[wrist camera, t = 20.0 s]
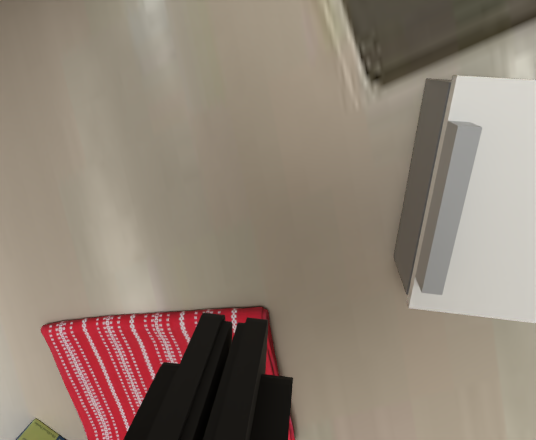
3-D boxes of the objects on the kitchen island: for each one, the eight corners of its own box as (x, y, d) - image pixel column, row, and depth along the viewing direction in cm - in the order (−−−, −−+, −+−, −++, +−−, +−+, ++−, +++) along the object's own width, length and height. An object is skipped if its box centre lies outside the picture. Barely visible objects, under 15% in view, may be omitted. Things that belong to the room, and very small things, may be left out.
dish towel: (299, 438, 43) (297, 460, 41) (99, 440, 48) (86, 461, 45) (272, 298, 38) (268, 314, 35) (48, 316, 42) (30, 331, 40)
